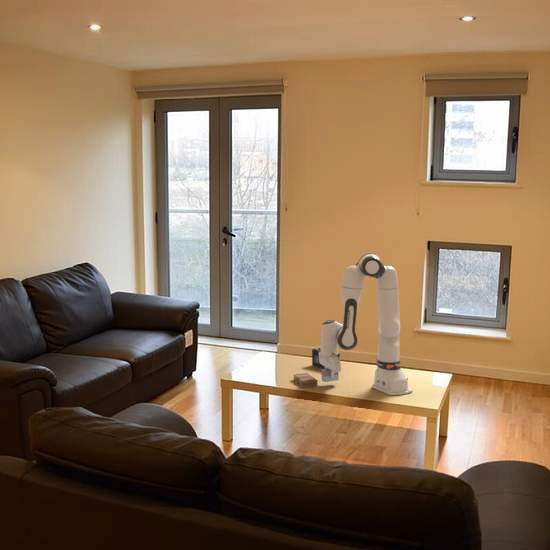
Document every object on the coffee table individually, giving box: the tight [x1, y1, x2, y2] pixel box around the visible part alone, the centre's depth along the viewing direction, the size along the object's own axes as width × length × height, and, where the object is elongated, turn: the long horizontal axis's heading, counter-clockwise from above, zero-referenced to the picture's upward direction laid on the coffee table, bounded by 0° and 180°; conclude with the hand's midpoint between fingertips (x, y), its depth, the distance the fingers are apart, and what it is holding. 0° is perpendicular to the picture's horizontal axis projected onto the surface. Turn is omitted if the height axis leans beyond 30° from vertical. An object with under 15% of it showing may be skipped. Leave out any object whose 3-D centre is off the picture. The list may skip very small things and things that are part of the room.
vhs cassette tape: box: [311, 348, 341, 369], centre depth 391 cm, size 18×3×10 cm, turn 48°
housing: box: [320, 368, 340, 383], centre depth 359 cm, size 4×8×6 cm, turn 110°
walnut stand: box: [293, 372, 318, 388], centre depth 364 cm, size 14×8×3 cm, turn 20°
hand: (330, 376), depth 359 cm, fingers closed on housing, 4 cm apart
